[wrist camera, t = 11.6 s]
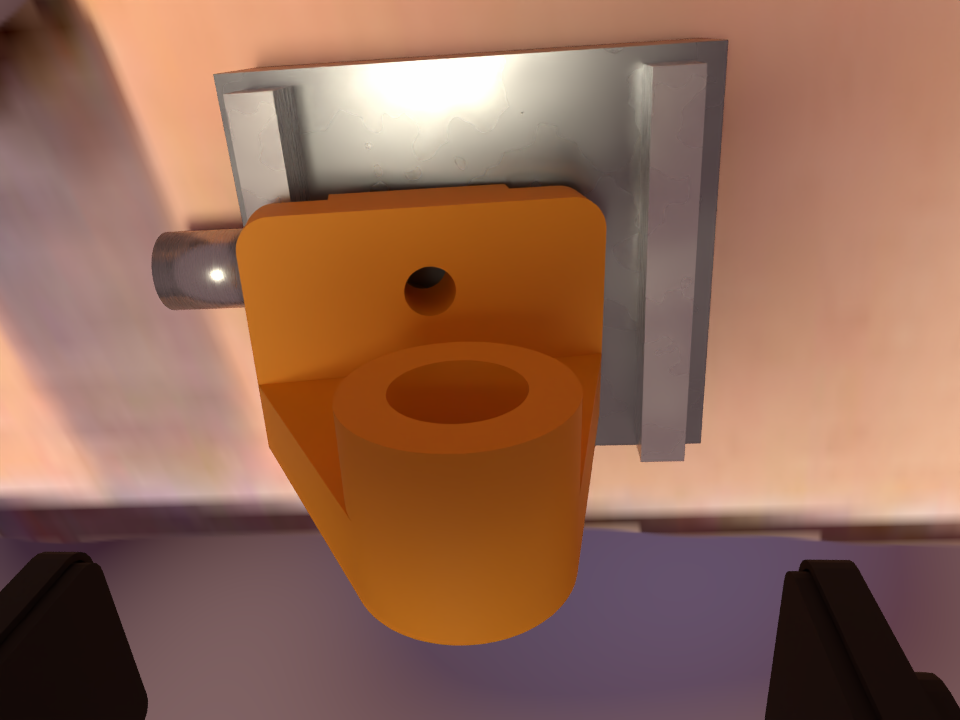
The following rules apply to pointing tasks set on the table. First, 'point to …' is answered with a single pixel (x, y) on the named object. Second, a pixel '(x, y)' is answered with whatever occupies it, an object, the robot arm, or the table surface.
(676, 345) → the block
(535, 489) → the bracket
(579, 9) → the table surface
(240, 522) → the table surface
